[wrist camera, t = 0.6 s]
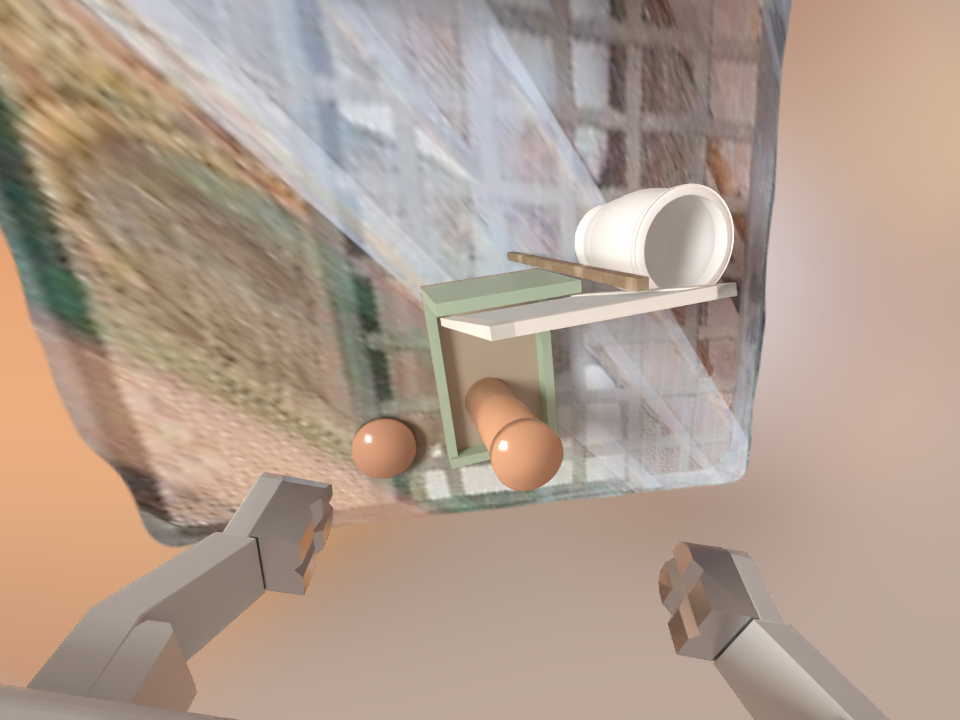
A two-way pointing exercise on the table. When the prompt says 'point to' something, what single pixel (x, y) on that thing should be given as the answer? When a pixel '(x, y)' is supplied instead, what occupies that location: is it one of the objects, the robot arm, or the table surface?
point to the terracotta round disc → (383, 447)
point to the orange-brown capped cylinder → (513, 436)
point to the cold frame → (490, 352)
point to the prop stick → (585, 271)
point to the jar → (660, 236)
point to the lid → (581, 310)
